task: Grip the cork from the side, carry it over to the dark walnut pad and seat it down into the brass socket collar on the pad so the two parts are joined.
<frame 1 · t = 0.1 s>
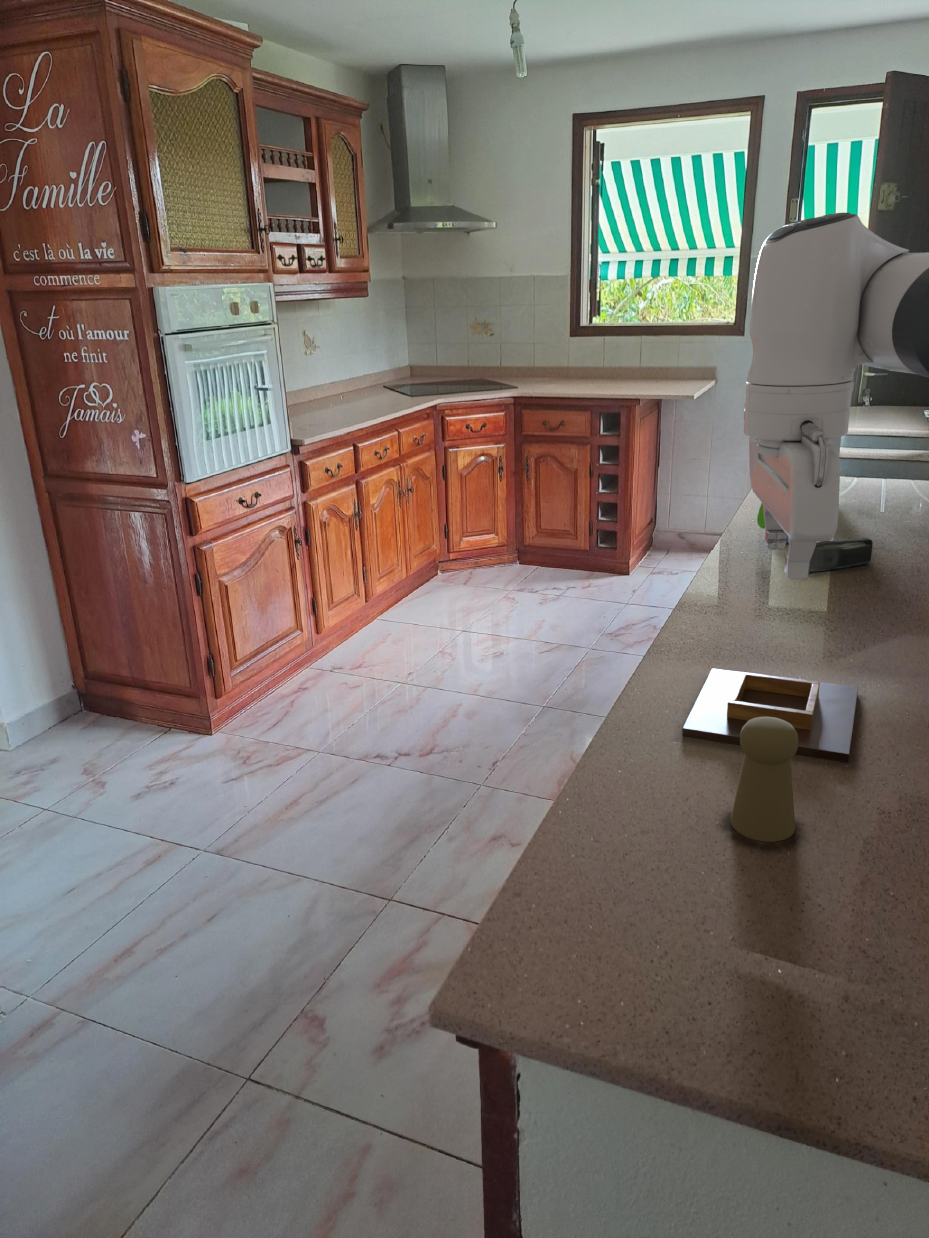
hand: (784, 562, 83), 25 cm above the counter, tool pointing down, fingers open, 8 cm apart
pad: (772, 714, 107), on the counter
dark grey stapler: (833, 569, 157), on the counter
travel mug: (819, 504, 200), on the counter
snack cup: (791, 540, 175), on the counter
cork: (762, 825, 86), on the counter
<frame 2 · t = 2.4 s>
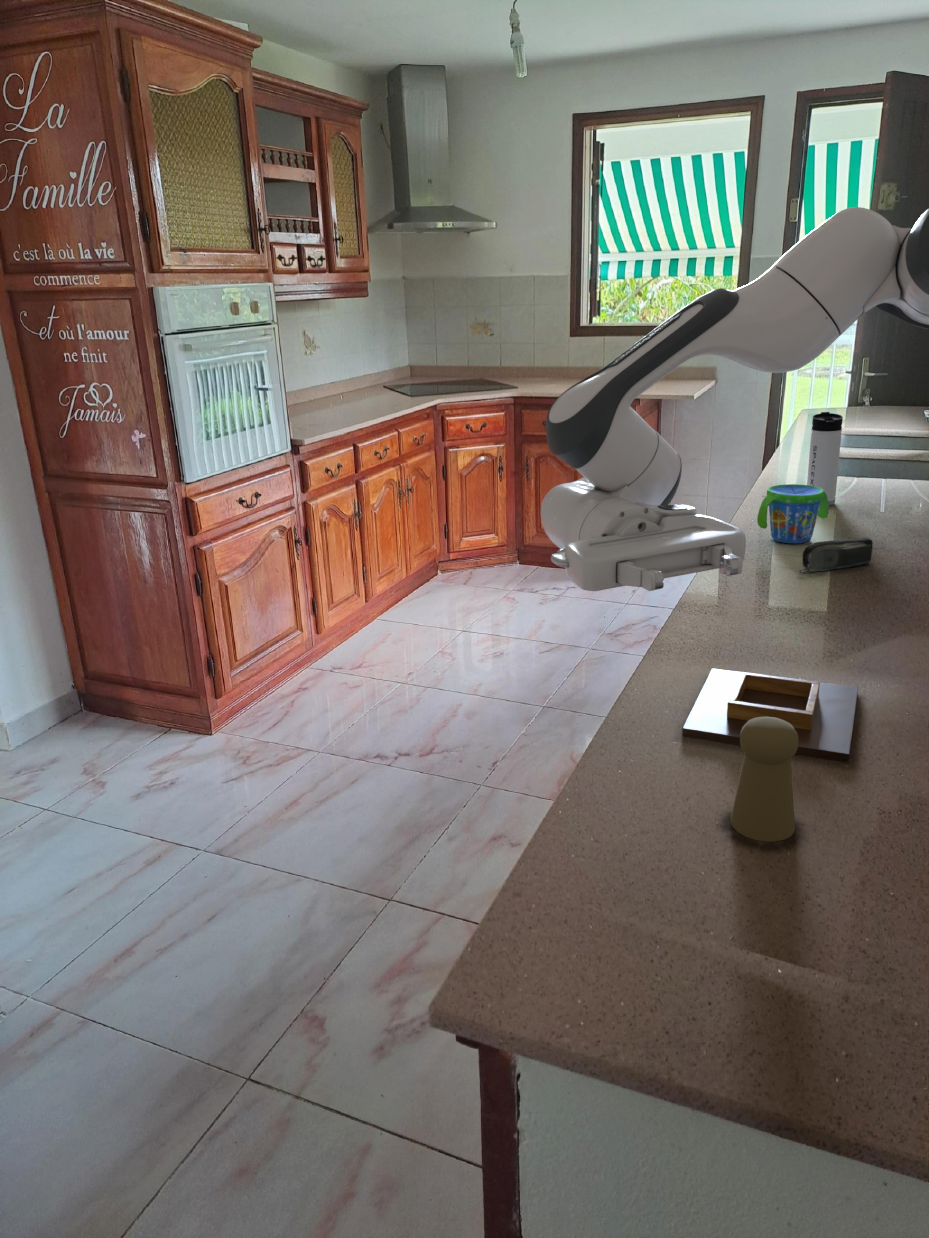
hand: (697, 575, 89), 22 cm above the counter, tool horizontal, fingers open, 8 cm apart
nothing on the counter moved.
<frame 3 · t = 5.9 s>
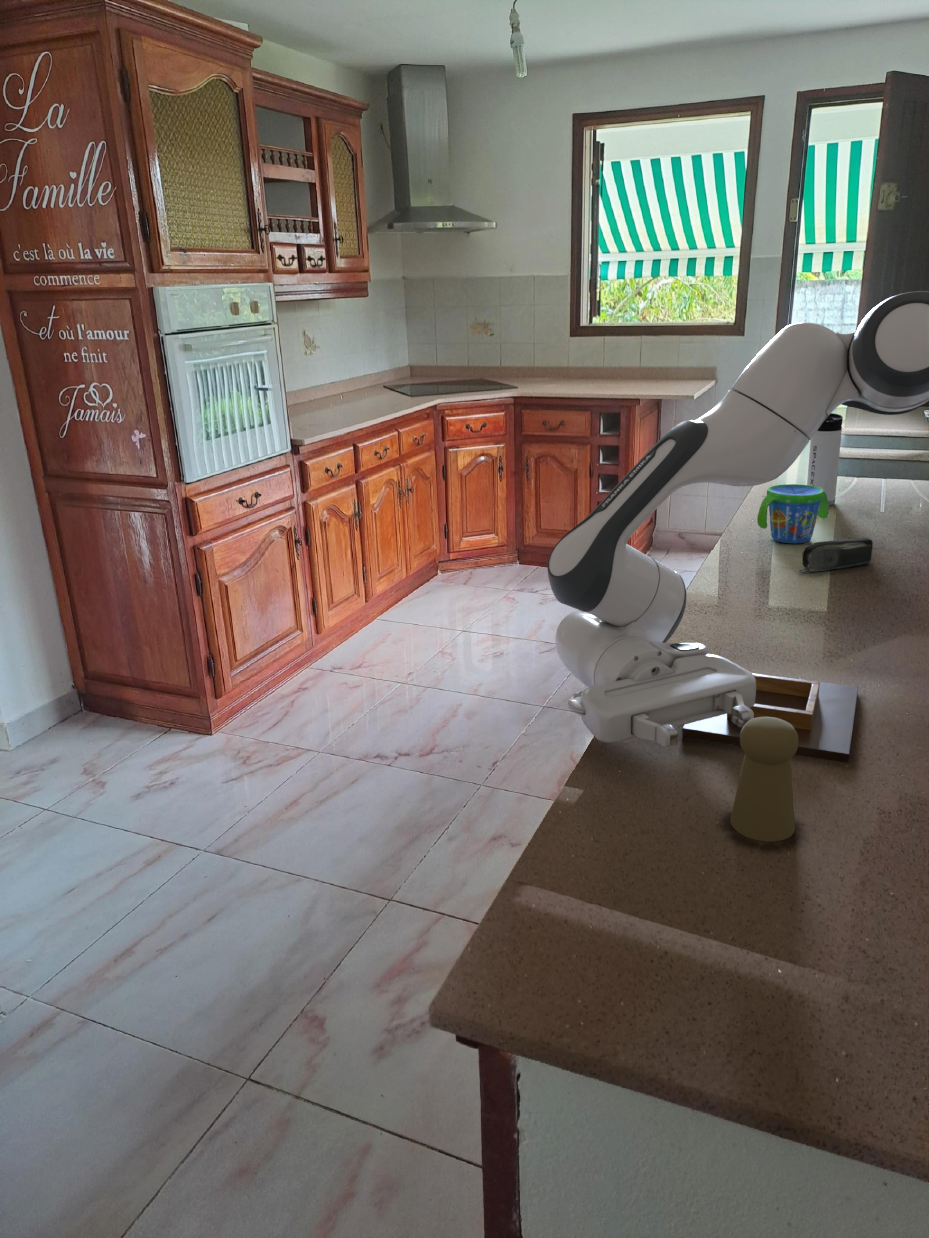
hand: (710, 729, 92), 6 cm above the counter, tool horizontal, fingers open, 8 cm apart
nothing on the counter moved.
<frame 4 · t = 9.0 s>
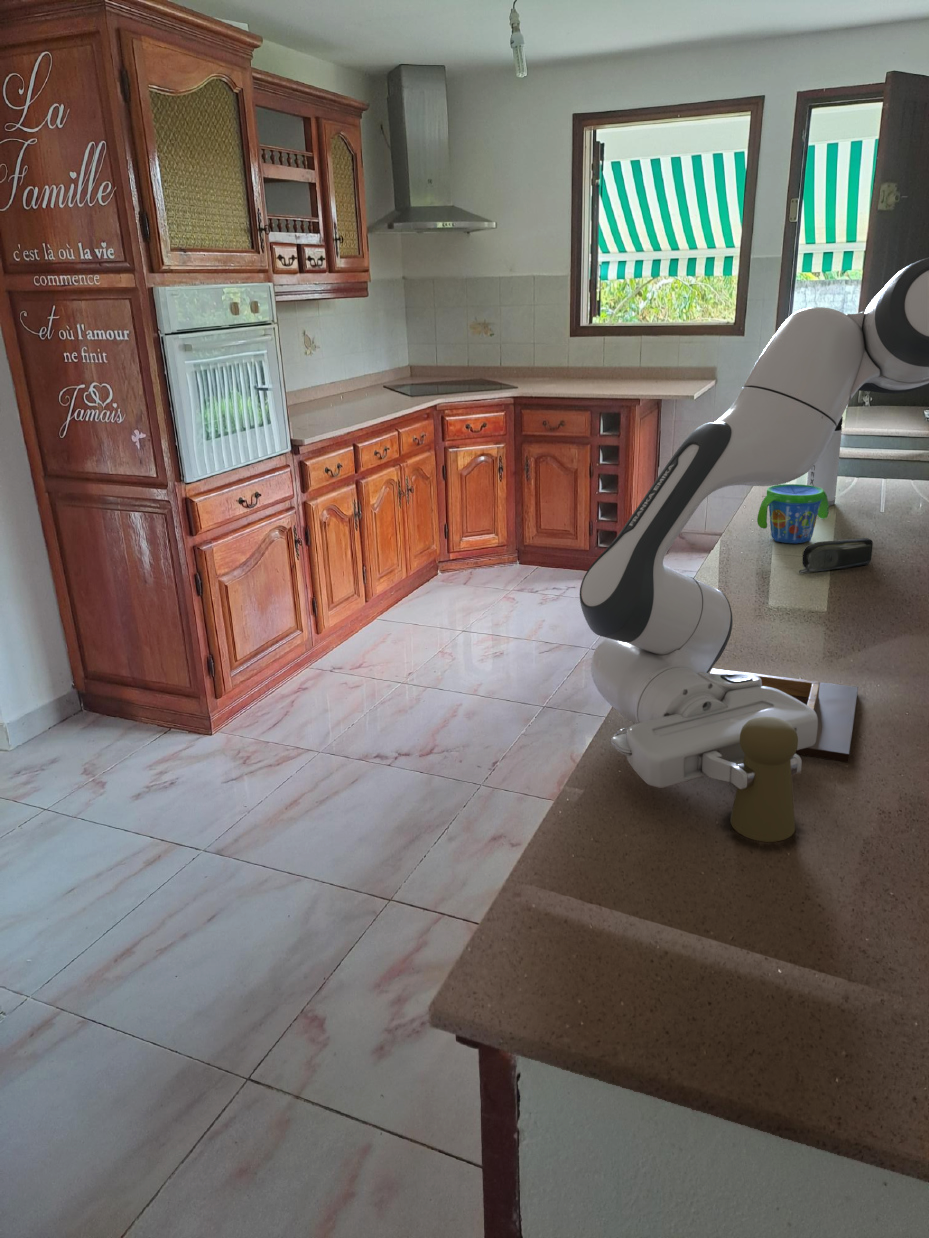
hand: (773, 774, 83), 6 cm above the counter, tool horizontal, fingers closed on cork, 4 cm apart
cork: (762, 825, 86), on the counter, touching gripper
everything else where it was.
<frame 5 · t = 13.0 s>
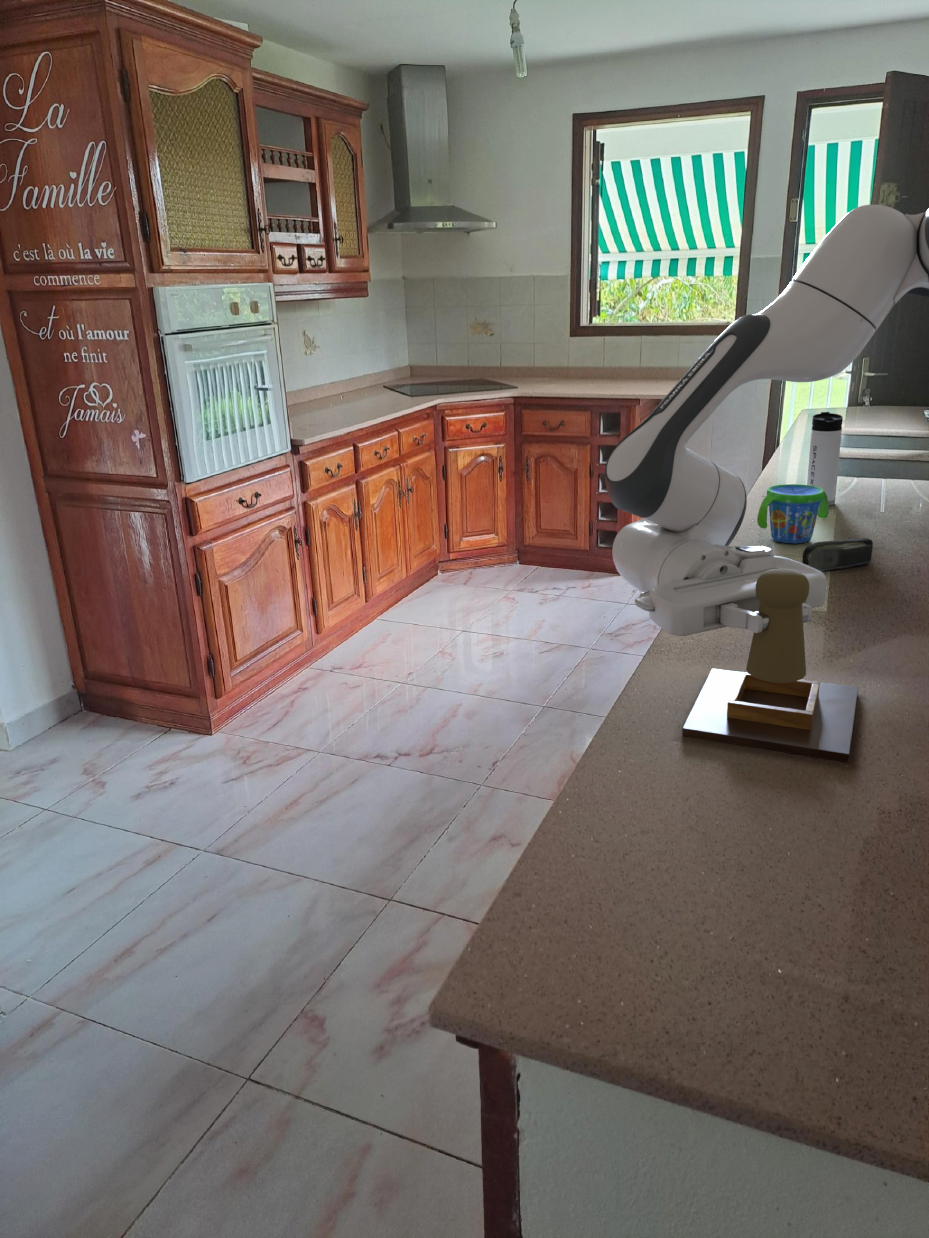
hand: (786, 620, 90), 17 cm above the counter, tool horizontal, fingers closed on cork, 4 cm apart
cork: (775, 672, 93), point 11 cm above the counter, touching gripper
everything else where it was.
when the fingers open (7 cm above the counter, at t = 17.2 s): cork stays where it is, resting on pad.
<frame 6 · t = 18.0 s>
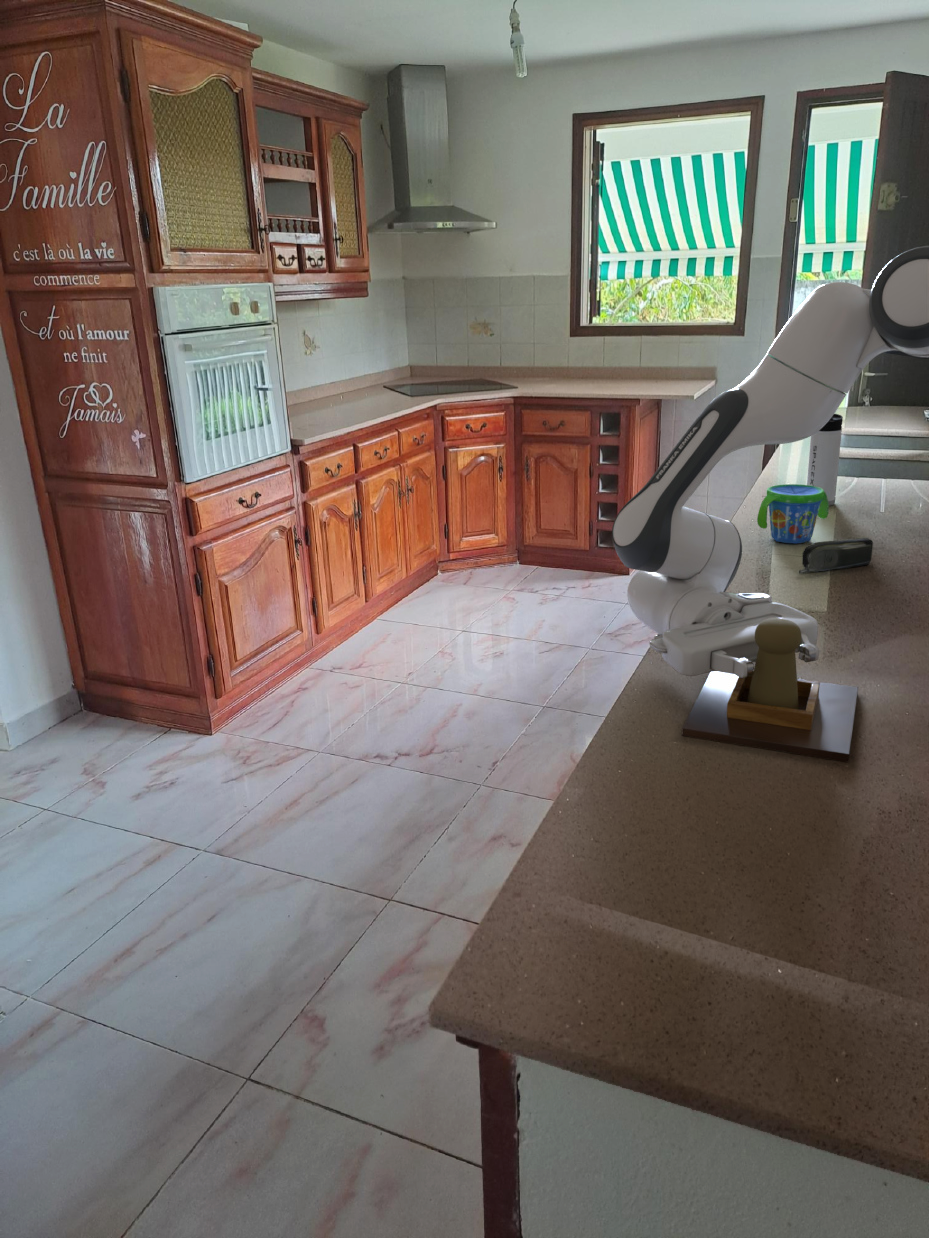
hand: (782, 663, 104), 7 cm above the counter, tool horizontal, fingers open, 8 cm apart
cork: (772, 707, 107), point 1 cm above the counter, touching pad
everything else where it was.
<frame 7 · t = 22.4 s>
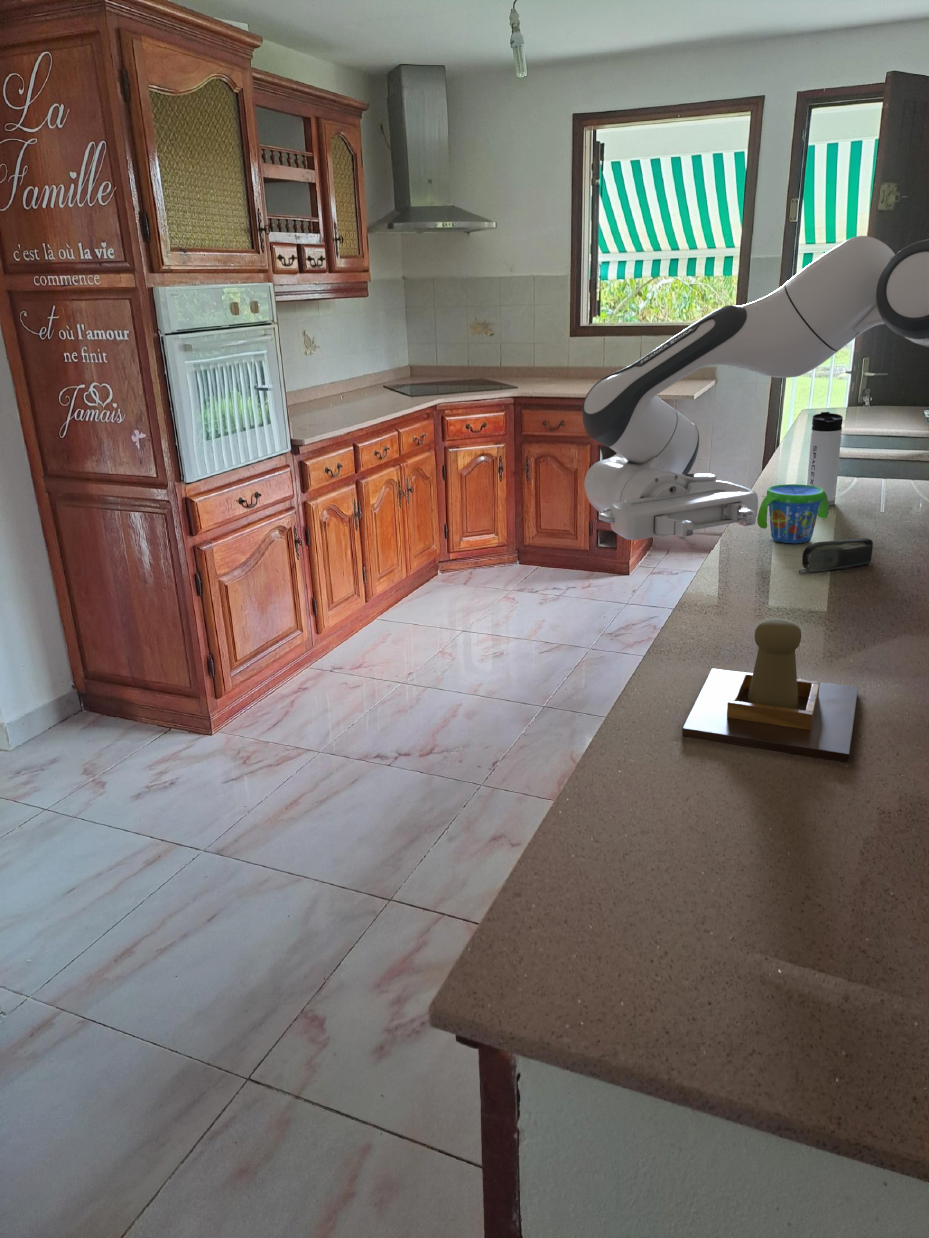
hand: (720, 524, 110), 21 cm above the counter, tool horizontal, fingers open, 8 cm apart
nothing on the counter moved.
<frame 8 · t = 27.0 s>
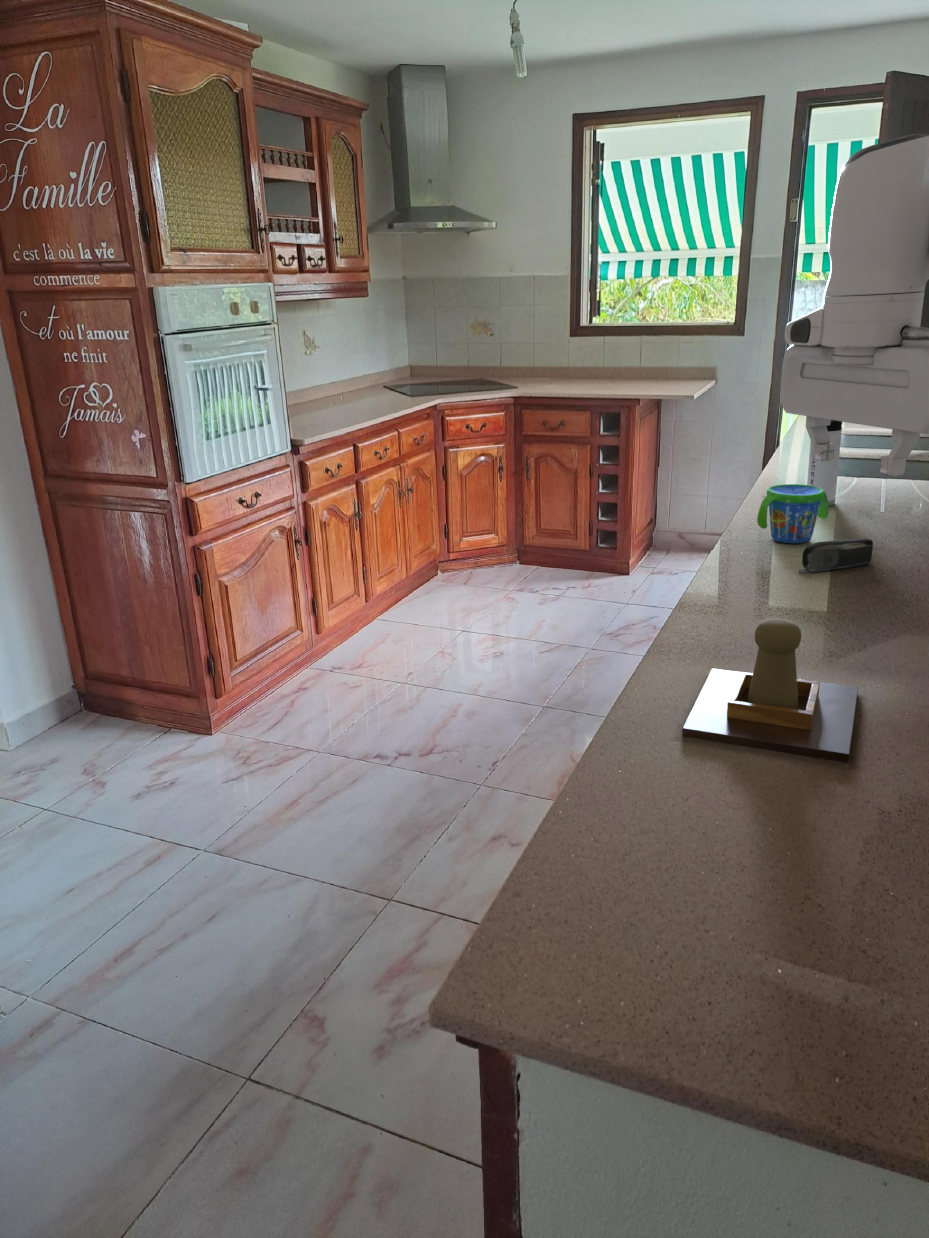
hand: (855, 467, 90), 31 cm above the counter, tool pointing down, fingers open, 8 cm apart
nothing on the counter moved.
at the end: cork 0.1 cm off-centre on the pad, point 0.8 cm above the pad's base; cork tilted 0°; the gripper is holding nothing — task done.
